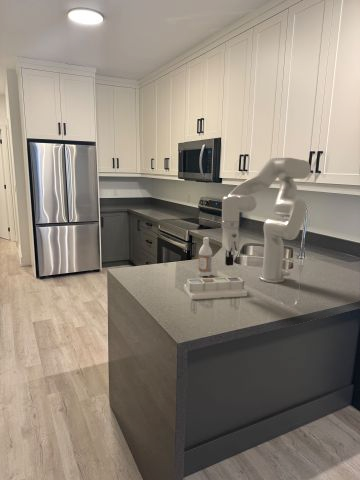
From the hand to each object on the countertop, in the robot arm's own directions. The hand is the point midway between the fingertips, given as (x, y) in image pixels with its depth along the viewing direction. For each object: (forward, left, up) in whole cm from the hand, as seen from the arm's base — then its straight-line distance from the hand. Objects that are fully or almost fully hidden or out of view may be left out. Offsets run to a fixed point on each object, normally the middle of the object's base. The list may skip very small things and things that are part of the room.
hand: (229, 264), depth 146 cm
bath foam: (+3, -25, -13) cm, 28 cm away
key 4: (+15, 0, -9) cm, 18 cm away
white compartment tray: (+6, 0, -12) cm, 14 cm away
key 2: (+3, 0, -9) cm, 10 cm away
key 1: (-3, 0, -9) cm, 9 cm away
